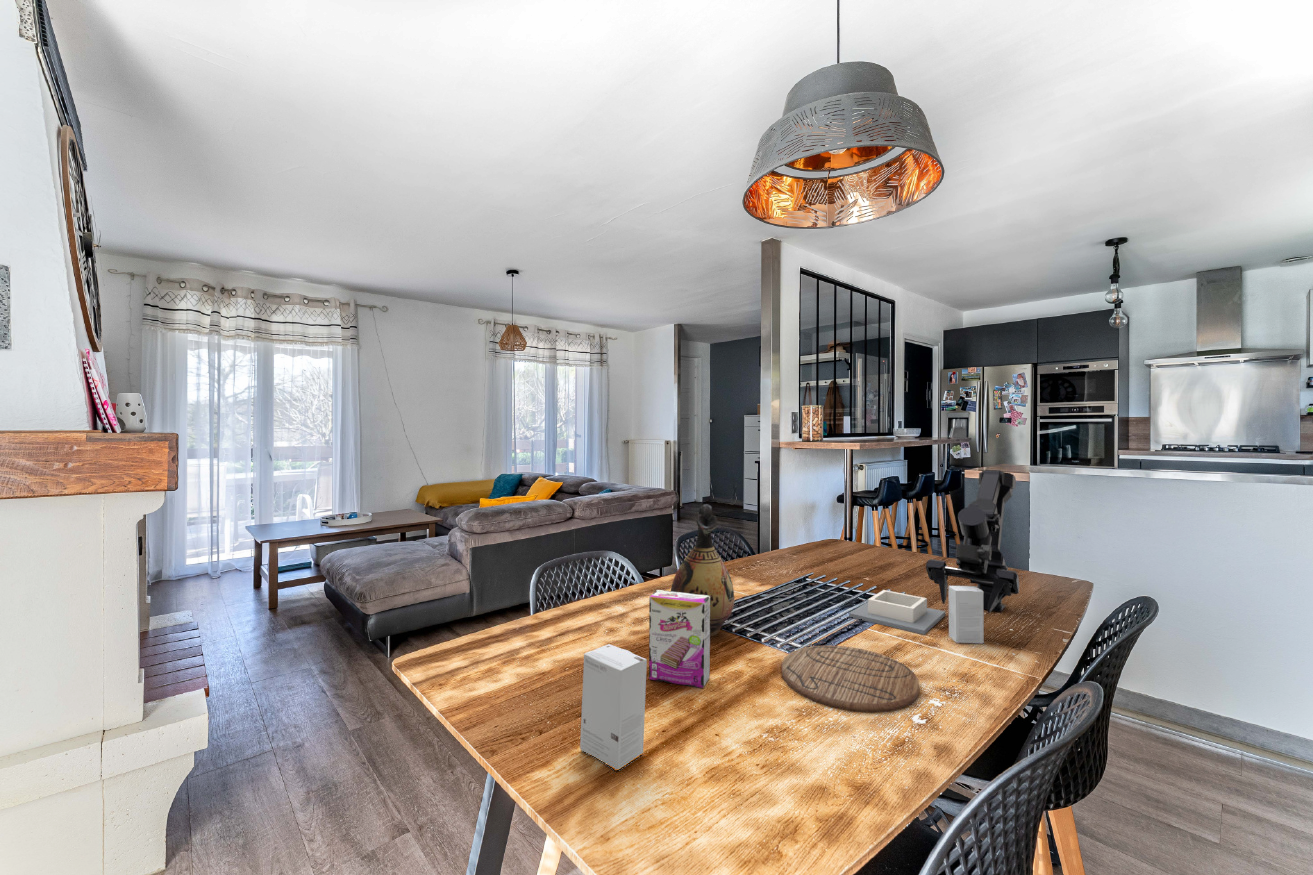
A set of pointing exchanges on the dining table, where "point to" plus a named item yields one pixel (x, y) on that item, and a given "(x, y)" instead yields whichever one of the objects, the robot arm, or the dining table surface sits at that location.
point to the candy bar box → (679, 638)
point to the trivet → (850, 678)
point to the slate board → (918, 626)
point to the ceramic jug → (707, 573)
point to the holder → (897, 606)
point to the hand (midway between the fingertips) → (965, 607)
